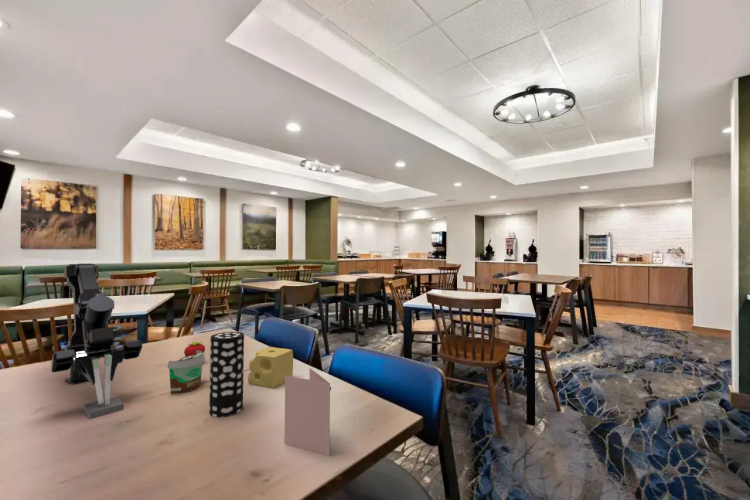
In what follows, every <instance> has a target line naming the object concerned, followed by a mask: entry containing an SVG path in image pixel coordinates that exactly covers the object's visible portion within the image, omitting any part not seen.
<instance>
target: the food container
mask: <svg viewBox="0 0 750 500" xmlns="http://www.w3.org/2000/svg"><path fill="white" fill-rule="evenodd" d="M205 361H206V357H205V353H204V354H203V352H202V351H196V354H194V355H191V356H186V357H185V356H183V357H181V358H180V359H178V360H168V364H167V367H166V368H167V369H168V371H169V385H170V386H169V387H170V394H172V395H175V394H176V395H177V394H184V393H185V394H186V393H189V392H192V391H194V390H197V389H198V388H200V387H201V381H202V373H203V372H202V371H203V363H204V362H205Z"/></svg>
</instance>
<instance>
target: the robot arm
mask: <svg viewBox="0 0 750 500" xmlns="http://www.w3.org/2000/svg"><path fill="white" fill-rule="evenodd" d="M98 277H99V265H96V264H95V263H94V264H93V263H73V264H68V265H67V266H65V267H64V270H63V278H64V279H66V285H67V286H68V287H69V288H70V290H72V295H73V297H72V299H73V301H72V302H73V334H72V336H70V338H69V340H68V341H67V345H65V349H64V350H60V351H55V352H54V353H53V354H52V358H51V363H50V364H51V366H50V367H51V371H50V372H51V373H59V372H64V371H68V370H69V377H67V378H65V379H64V381H65V382H68V383H70V384H74V385H75V384H80V383H83V382H86V381H89V382H90V384H91V385H92V386H95V376H94V372H93V369H92V365H91V359H90V358H92V357H95V356H96V357H97V358H98V360H100V359H104V354H111V355H112V365H111V375H110V382H112V381H114V377H115V373H116V369H117V367H118V365H119V364H121V363H123V361H124V360H132V359H137V358H139V356H140V354H141V351H142V348H143V342H142V341H141V340H139V339H134V340H128V341H124V342H123V345H122V346H121V347H113V346H114V345H115V339H116V338H120V337H122V335H123V326H122V324H114V325H113V326H109V325H110V324H109V321H110V320H111V317H112V315H113V310H115V301H114V299H113V298H111V297H109V296H107V295H106V294H105V293H104V292H102V291H101V290H100V288H99V284H98V279H97V278H98Z"/></svg>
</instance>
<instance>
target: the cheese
mask: <svg viewBox="0 0 750 500" xmlns="http://www.w3.org/2000/svg"><path fill="white" fill-rule="evenodd" d="M248 368H249V370H250V372H248V376H247V381H248V385H252V384H253V385H254V386H258V385H259V386H260V387H264V388H269V389H275V388H277V387H278V386H280V385H281V383H282V384H283V382H284V381H285V376H291V377H293V371H294V352H293V349H289V348H282V347H281V348H280V347H274V346H268V347H264V348H261V349H259V350H257V351H256V353H255V356H254V358H253V359H251V360H249V366H248ZM284 383H285V382H284ZM276 386H277V387H276ZM274 387H275V388H274Z"/></svg>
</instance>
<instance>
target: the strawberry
mask: <svg viewBox="0 0 750 500" xmlns="http://www.w3.org/2000/svg"><path fill="white" fill-rule="evenodd" d="M196 351H202V352H203V354H204V355H205V351H206V346H205V345H204V344H203V341H197V339H195V342H194V341H192V343H188V344H187V346H186V347H185V348H184V352H183V354H184V357H186V356H191V355H194V354H196Z"/></svg>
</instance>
